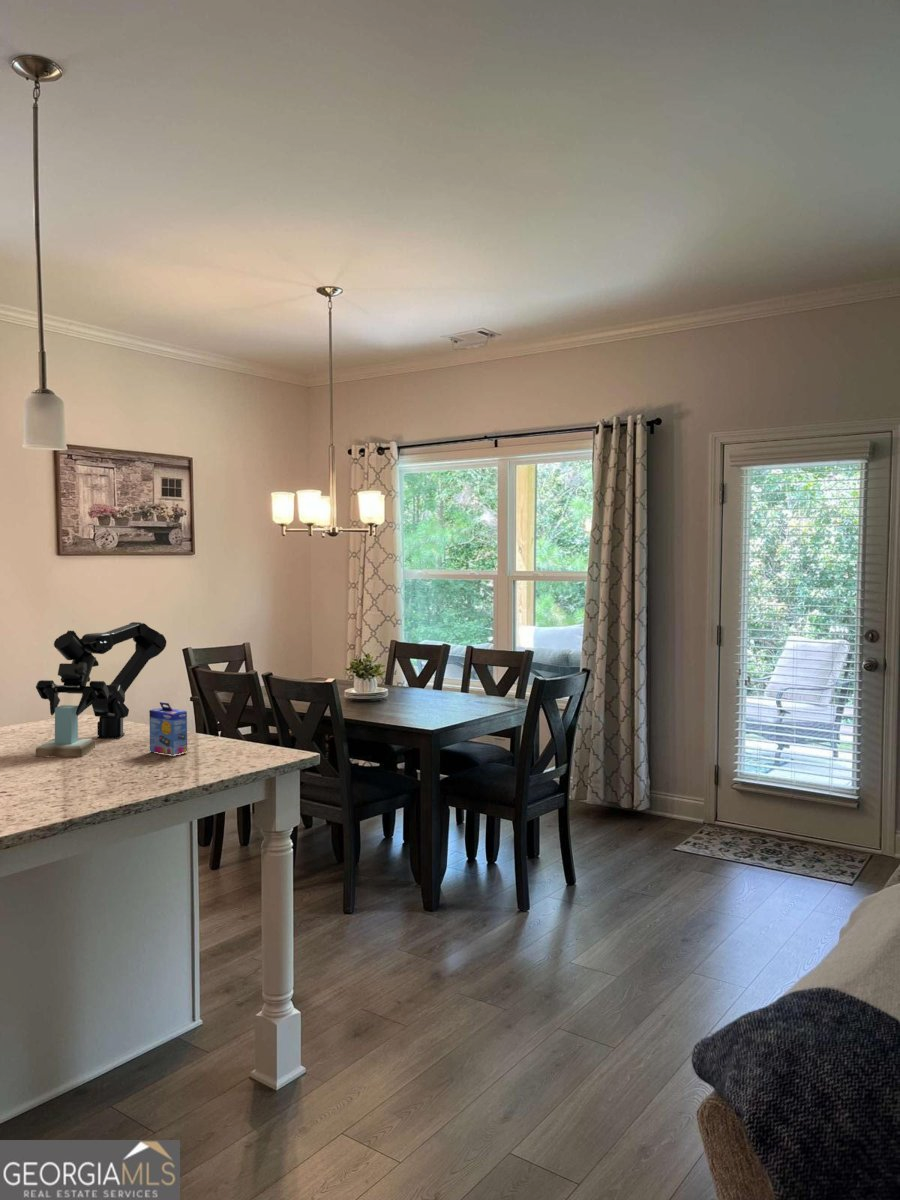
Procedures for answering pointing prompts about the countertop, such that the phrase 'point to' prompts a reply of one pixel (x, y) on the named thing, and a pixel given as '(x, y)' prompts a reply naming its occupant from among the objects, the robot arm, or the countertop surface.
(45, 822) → the countertop surface
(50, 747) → the stand
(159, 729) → the ink cartridge box
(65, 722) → the block
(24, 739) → the countertop surface
